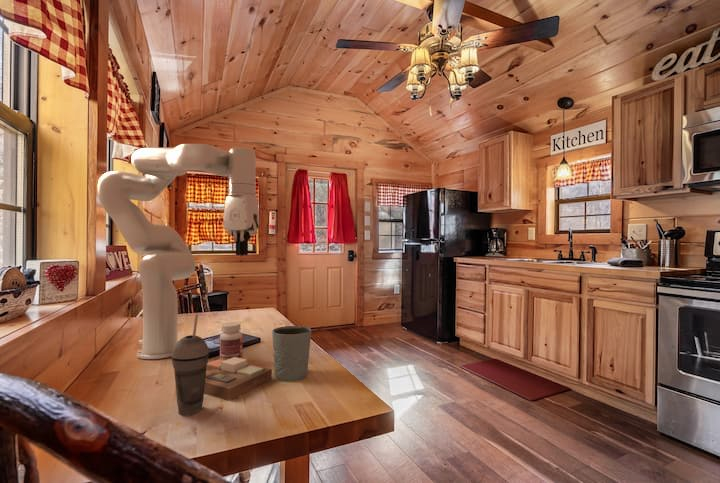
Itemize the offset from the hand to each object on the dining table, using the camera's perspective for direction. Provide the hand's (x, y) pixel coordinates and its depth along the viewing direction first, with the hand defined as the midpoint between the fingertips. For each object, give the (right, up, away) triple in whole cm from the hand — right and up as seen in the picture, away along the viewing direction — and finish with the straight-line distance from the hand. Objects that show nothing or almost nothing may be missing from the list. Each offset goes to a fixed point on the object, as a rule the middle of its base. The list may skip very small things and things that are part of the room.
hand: (241, 255), depth 108 cm
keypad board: (0, -31, -15) cm, 35 cm away
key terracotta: (-3, -30, -10) cm, 32 cm away
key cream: (+2, -29, -12) cm, 31 cm away
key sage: (+7, -30, -15) cm, 34 cm away
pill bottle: (-3, -31, -1) cm, 31 cm away
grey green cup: (+16, -32, -9) cm, 37 cm away
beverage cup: (-1, -32, -30) cm, 43 cm away
